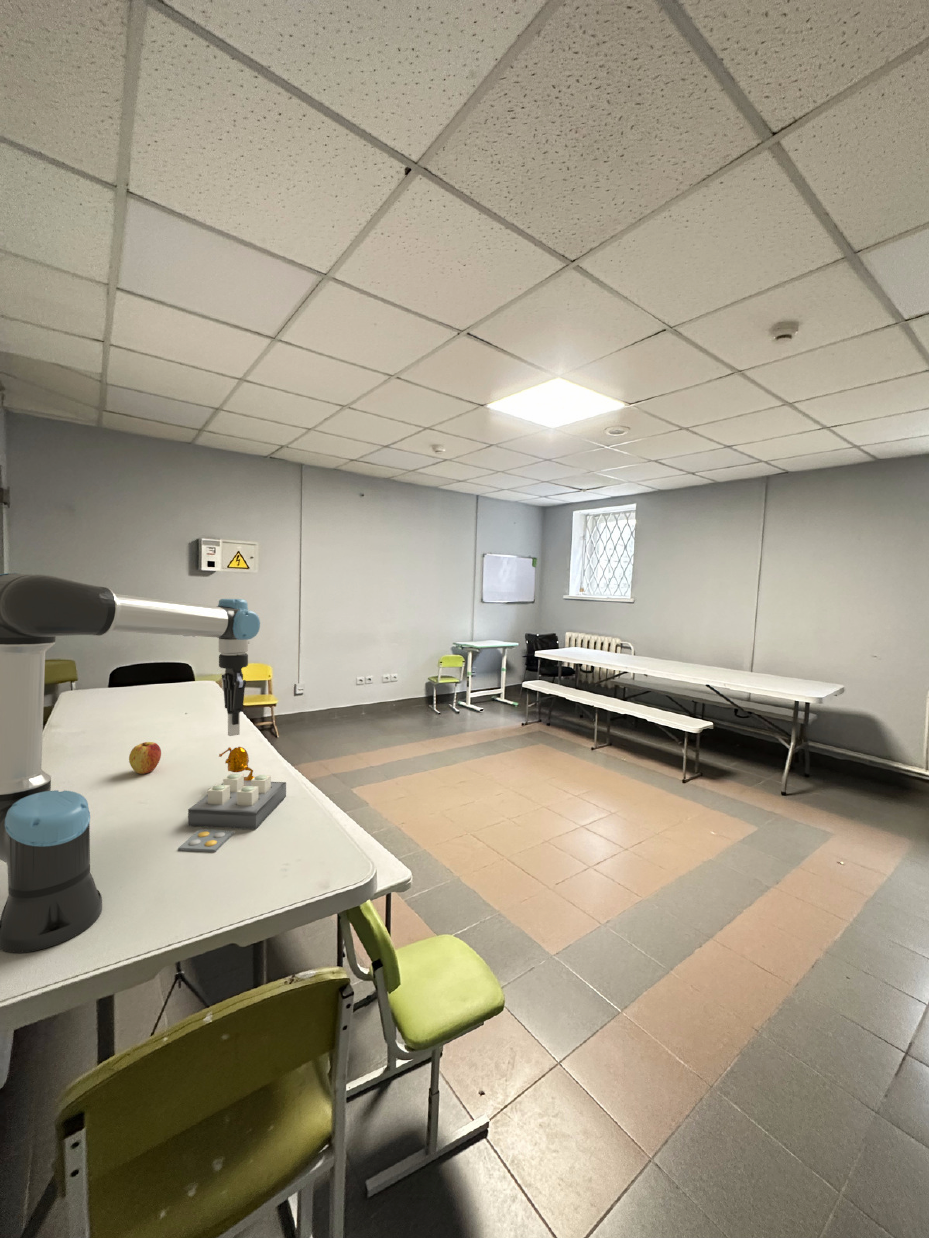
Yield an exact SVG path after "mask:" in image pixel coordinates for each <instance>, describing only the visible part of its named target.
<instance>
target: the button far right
mask: <svg viewBox="0 0 929 1238" xmlns="http://www.w3.org/2000/svg"><path fill="white" fill-rule="evenodd" d="M271 779H272V776H271V775H266V774H257V775H255V776H254V778H253V779H252V780H251V786H256V787H258V793H264V794H266V793H267V792H268V791H269V790H270V789H271V782H272V780H271Z"/></svg>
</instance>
